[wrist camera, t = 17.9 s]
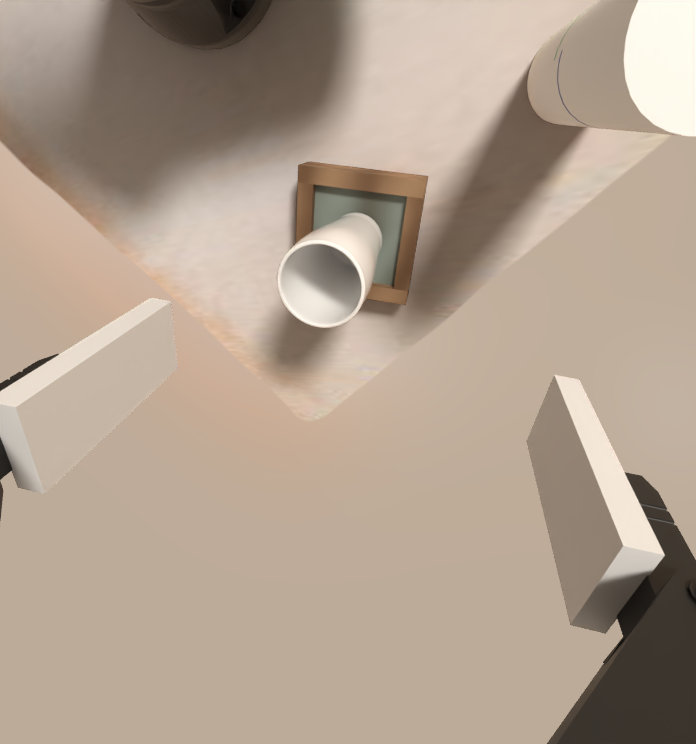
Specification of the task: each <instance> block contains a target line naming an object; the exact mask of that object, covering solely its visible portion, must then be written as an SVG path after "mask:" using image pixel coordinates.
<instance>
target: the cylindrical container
mask: <svg viewBox="0 0 696 744" xmlns="http://www.w3.org/2000/svg"><path fill="white" fill-rule="evenodd" d="M527 92H528V98H529V101H530V103H531V106H532V108H533V109H534V111H535V112H536V114H537V115H539V116H540V117H541V118H542V119H543V120H545V121H547V122H549V123H553V124H557V125H568V126H579V127H590V128H601V129H613V130H625V131H636V132H647V133H658V134H669V135H680V136H696V0H598V1H597V2H596V3H594V4H593V5H592V6H591V7H589V8H588V9H587V10H585V11H584V12H583V13H581V14H580V15H579V16H577V17H576V18H575V19H573V20H572V21H571V22H570V23H568V24H567V25H566V26H564V27H563V28H562V29H560V30H559V31H558V32H556V33H555V34H554V35H553V36H551V37H550V38H549V39H548V40H547V41H546V42H545V43H544V44H543V46H542V47H541V48H540V50H539V51H538V52H537V54H536V56H535V58H534V60H533V62H532V64H531V67H530V70H529V74H528V80H527Z"/></svg>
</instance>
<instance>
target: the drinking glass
mask: <svg viewBox="0 0 696 744" xmlns="http://www.w3.org/2000/svg"><path fill="white" fill-rule="evenodd" d="M381 248H382V234H381V230H380V228H379V226H378V225H377V223H376V222H375V221H374V220H373V219H372V218H371V217H369V216H367V215H365V214H362V213H356V212H355V213H348V214H345V215H343V216H341V217H340V218H339V219H337V220H336V221H333V222H331V223H329V224H327V225H325V226H322V227H320V228H318V229H316V230H314V231H312V232H310V233H309V234H307V235H306V236H304V237H303V238H302V239H301V240H299V241H298V242H297V243H296V244H295V245H294V246H293V247H292V248H291V249H290V250H289V251H288V252H287V253H286V255H285V256H284V257H283V259H282V261H281V263H280V265H279V269H278V273H277V286H278V291H279V295H280V297H281V300H282V302H283V303H284V305H285V306H286V308H287V309H288V310H289V312H290V313H291V314H292V315H293V316H295V317H296V318H297V319H299V320H300V321H302V322H303V323H306V324H308V325H310V326H314V327H319V328H332V327H336V326H340V325H342V324H344V323H346V322H348V321H349V320H350V319H352V318H353V317H354V316H355V315H356V314H357V312H358V311H359V309H360V308H361V306H362V305H363V303H364V301H365V300H366V298H367V296H368V294H369V291H370V289H371V286H372V283H373V280H374V276H375V271H376V266H377V261H378V256H379V253H380V251H381Z"/></svg>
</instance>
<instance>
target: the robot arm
mask: <svg viewBox="0 0 696 744" xmlns="http://www.w3.org/2000/svg"><path fill="white" fill-rule="evenodd" d="M126 1H127V3H128V4H129V5H130V6H131V7H132V8H133V9H134V10H135V11H136V12H137V14H138V15H139V16H140V17H141V18H142V19H143V20H144V21H145V22H146V23H147V24H148V25H149V26H151V27H152V28H153V29H154V30H156V31H157V32H159V33H160V34H162V35H163V36H165V37H167V38H169V39H171V40H173V41H175V42H178V43H181V44H184V45H187V46H191V47H195V48H200V49H218V48H223V47H227V46H229V45H232V44H234V43H236V42H238V41H239V40H241V39H243V38H244V37H245V36H247V35H248V34H249V33H250V32H251V31H252V30H253V29H254V28H255V27H256V26H257V24H258V23H259V22H260V21H261V19H262V18H263V16H264V15H265V13H266V11H267V9H268V7H269V5H270V3H271V1H272V0H126ZM177 369H178V366H177V355H176V345H175V336H174V325H173V314H172V304H171V301H166V300H161V299H156V298H150V299H148V300H146V301H145V302H143V303H142V304H140V305H138V306H137V307H135V308H133V309H132V310H131V311H129V312H127V313H126V314H124V315H122V316H121V317H119V318H117V319H116V320H114V321H113V322H111V323H109V324H108V325H106V326H104V327H103V328H101V329H100V330H98V331H96V332H95V333H93V334H92V335H90V336H88V337H87V338H85V339H84V340H82V341H80V342H79V343H77V344H76V345H74V346H72V347H71V348H69V349H67V350H66V351H64V352H63V353H61V354H56V355H53V356H50V357H47V358H44V359H41V360H39V361H37V362H35V363H33V364H32V365H30V366H28V367H27V368H25V369H24V370H23V372H18V373H17V374H16V375H14V376H12V377H10V380H5V381H4V382H2V383H0V480H1V479H2V478H3V477H4V476H5V475H7V474H8V473H9V472H10V471H12V473H13V476H14V478H15V481H16V484H17V486H18V488H22V489H26V490H30V491H35V492H38V493H42V494H45V493H46V492H47V491H49V489H51V488H52V487H53V486H54V485H55V484H56V483H57V482H58V481H59V480H60V479H61V478H62V477H63V476H64V475H65V474H67V473H68V472H69V471H70V470H71V469H72V468H73V467H74V466H75V465H76V464H77V463H78V462H79V461H80V460H81V459H82V458H84V457H85V456H86V455H87V454H88V453H89V452H90V451H91V450H92V449H93V448H94V447H95V446H96V445H97V444H98V443H99V442H100V441H101V440H103V439H104V438H105V437H106V436H107V435H108V434H109V433H110V432H111V431H112V430H113V429H114V428H115V427H116V426H117V425H118V424H119V423H121V422H122V421H123V420H124V419H125V418H126V417H127V416H128V415H129V414H130V413H131V412H132V411H133V410H134V409H135V408H136V407H138V406H139V405H140V404H141V403H142V402H143V401H144V400H145V399H146V398H147V397H148V396H149V395H150V394H151V393H152V392H153V391H154V390H156V389H157V388H158V387H159V386H160V385H161V384H162V383H163V382H164V381H165V380H166V379H167V378H168V377H169V376H170V375H171V374H172V373H173V372H174V371H176V370H177ZM527 445H528V449H529V453H530V457H531V461H532V466H533V470H534V474H535V478H536V482H537V486H538V491H539V495H540V499H541V504H542V508H543V512H544V516H545V520H546V524H547V529H548V533H549V537H550V541H551V546H552V550H553V554H554V558H555V562H556V567H557V571H558V575H559V579H560V583H561V587H562V591H563V596H564V600H565V604H566V609H567V612H568V617H569V621H570V625H573V626H577V627H581V628H585V629H589V630H593V631H598V632H601V633H606V632H607V631H608V630H609V628H610V627H611V626H612V624H613V623H614V622H615V620H616V619H618V622H619V625H620V628H621V631H622V634H623V638H622V639H621V641H620V642H619V643H618V644H617V645H616V647H615V648H614V649H613V651H612V652H611V653H610V654H609V656H608V657H607V658H606V659H605V661H604V662H603V663H604V664H603V665H602V667H601V668H600V670H599V671H598V673H597V674H596V675H595V677H594V678H593V680H592V681H591V682H590V684H589V685H588V687H587V688H586V689H585V691H584V692H583V694H582V695H581V696H580V698H579V699H578V701H577V702H576V704H575V705H574V706H573V708H572V709H571V711H570V712H569V713H568V715H567V716H566V718H565V719H564V721H563V722H562V723H561V725H560V726H559V728H558V729H557V730H556V732H555V733H554V735H553V736H552V737H551V739H550V740H549V742H548V743H547V744H696V560H695V558H694V556H693V555H692V553H691V551H690V549H689V547H688V546H687V544H686V542H685V540H684V538H683V536H682V535H681V533H680V531H679V529H678V528H677V526H676V525H674V520H673V518H672V517H671V515H670V513H669V512H667V508H666V506H665V504H664V502H663V500H662V498H661V497H660V495H659V493H658V492H657V491H656V490H655V489H654V488H653V487H652V486H651V485H650V484H649V483H648V482H647V481H646V480H645V479H644V478H643V477H642V476H640V475H635V474H630V473H625V472H624V471H623V469H622V467H621V464H620V462H619V460H618V458H617V456H616V454H615V452H614V450H613V448H612V446H611V444H610V442H609V440H608V438H607V436H606V434H605V432H604V430H603V428H602V426H601V424H600V422H599V420H598V418H597V415H596V414H595V411H594V409H593V407H592V405H591V403H590V401H589V399H588V397H587V395H586V393H585V391H584V389H583V387H582V385H581V383H580V381H579V380H578V379H573V378H568V377H562V376H557V375H554V377H553V379H552V382H551V384H550V387H549V389H548V391H547V394H546V396H545V398H544V401H543V403H542V406H541V408H540V410H539V413H538V415H537V418H536V420H535V422H534V425H533V427H532V429H531V432H530V434H529V437H528V439H527ZM2 498H3V488H2V485H1V482H0V518H1V508H2Z"/></svg>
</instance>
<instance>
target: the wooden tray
mask: <svg viewBox="0 0 696 744" xmlns="http://www.w3.org/2000/svg"><path fill="white" fill-rule="evenodd" d="M427 180H428V176H421V175H413V174H405V173H397V172H389V171H381V170H373V169H365V168H357V167H349V166H340V165H332V164H324V163H316V162H306V163H303V164H300V165H298V193H297V225H296V243H297V242H298V241H299V240H301V239H302V238H303V237H304V236H306V235H307V234H309V233H310V232H312V231H314V230H316V229H318V228H320V227H322V226H325V225H327V224H329V223H331V222H333V221H336V220H337V219H339V218H340V217H341V216H343V215H345V214H348V213H355V212H356V213H362V214H365V215H367V216H369V217H371V218H372V219H373V220H374V221H375V222H376V223H377V225H378V226H379V228H380V230H381V234H382V248H381V251H380V253H379V256H378V261H377V266H376V271H375V276H374V280H373V283H372V286H371V289H370V291H369V294H368V296H367V298H366V299H371V300H378V301H384V302H390V303H396V304H403V305H406V301H407V297H408V292H409V286H410V280H411V275H412V269H413V263H414V257H415V251H416V245H417V239H418V233H419V227H420V222H421V216H422V210H423V204H424V198H425V192H426V186H427Z"/></svg>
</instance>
